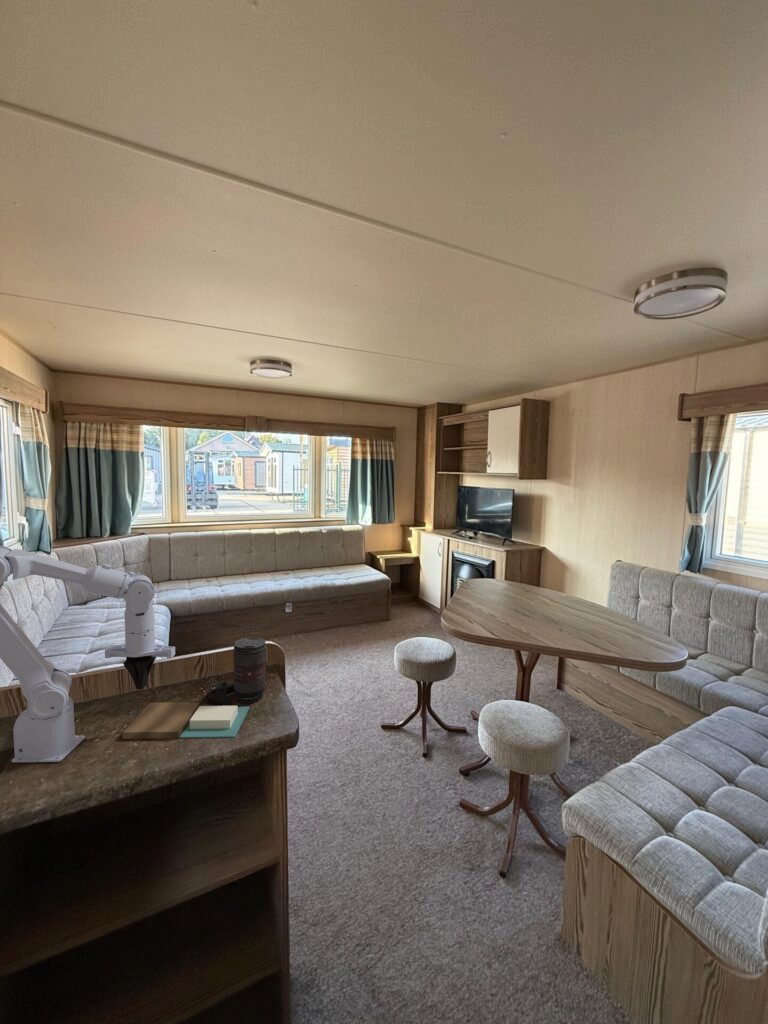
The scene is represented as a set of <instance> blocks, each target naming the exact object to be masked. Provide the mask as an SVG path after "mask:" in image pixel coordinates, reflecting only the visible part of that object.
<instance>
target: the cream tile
mask: <svg viewBox="0 0 768 1024" xmlns="http://www.w3.org/2000/svg"><path fill="white" fill-rule="evenodd" d="M238 707H239V706H238V705H229V706H220V705H200V706H199V708H198V709H197V711H196V712H195V713H194V715H193V716H192V718H191V719H190V729H223V728H230V727H231V726H232V724H233V722H234V720H235V718H236V716H237V714H238Z"/></svg>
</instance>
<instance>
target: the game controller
mask: <svg viewBox="0 0 768 1024" xmlns="http://www.w3.org/2000/svg"><path fill="white" fill-rule="evenodd" d="M233 691H234V681H220V682H216V683H215V684H213V686H212V688H211V689H210V690H209V691H208V692H207V693H206V699H207V701H206V703H207V704H210V705H211V704H215V705H217V706H231V700H230V697H229V696H228V692H233ZM234 692H235V691H234Z"/></svg>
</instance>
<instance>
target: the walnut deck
mask: <svg viewBox="0 0 768 1024" xmlns="http://www.w3.org/2000/svg"><path fill="white" fill-rule="evenodd" d="M200 703H201V702H200V701H199V702H196V701H195V702H193V701H192V702H187V701H185V702H182V701H181V702H149V703H148V704H147V705H146V706H145V708H144V709H143V710H142V711H141V712H140V713H139V714H138V715H137V716H136V717H135V718H134V719H133V720H132V721H131V722H130V724H129V725H128V726H127V727H126V728H124V730H123V731H122V733H121V734H122V739H123V740H134V739H136V740H137V739H138V740H142V739H143V740H144V739H147V740H148V739H156V740H157V739H180V736H181V734H182V733H183V731H184V730H185V729H186V727H187V726H188V724H189V723H190V719H191V718H192V716H193V715H194V713H195V712H196V711H197V709H198V708H199V706H201V704H200Z"/></svg>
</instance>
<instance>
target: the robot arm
mask: <svg viewBox="0 0 768 1024" xmlns="http://www.w3.org/2000/svg"><path fill="white" fill-rule="evenodd" d="M111 567H112V566H111V565H110V564H107V563H104V564H103V566H102V565H99V564H96V565H94V566H92V567H88V568H85V567H82V566H80V565H75V564H72V563H69V562H65V561H62V560H59V559H56V558H51V557H49V556H46V555H45V556H44V555H41V554H39V553H35V552H31V551H27V550H24V549H19V548H14V549H11V548H10V547H7V546H4V545H0V592H1V591H2V588H3V586H4V583H5V581H7V579H9V577H10V576H11V575H12V580H19V579H22V578H27V577H30V576H40V577H46V578H49V579H56V580H60V581H63V582H64V581H66V582H71V583H75V584H80V585H81V586H82V588H83V589H84V591H85V592H87V593H90V594H91V593H92V594H95V595H100V596H104V597H110V598H113V599H117V600H118V599H119V600H120V599H123V600H124V601H125V610H124V614H123V615H124V641H125V644H124V645H116V646H108V647H107V648H105V650H104V658H105V659H111V658H125V660H124V661H123V667H124V668H125V669H126V670H127V672H128V673H129V674H130V677H131V679H132V681H133V683H134V686H135V687H134V688H135V689H136V690H144V688H146V687H147V685H148V681H149V680H148V679H149V676H150V673H151V669H152V667H153V665H154V662H155V661H156V659H157V658H167V659H172V658H173V657H174V656H175V655H176V646H169V645H163V644H159V643H158V644H157V643H156V642H155V640H156V639H155V638H156V637H155V608H154V606H153V605H154V597H155V594H156V591H155V588H154V584H153V582H152V580H151V578H149V577H148V576H146V575H144V574H142V573H135V572H134V571H129V573H128V572H125V571H121V570H119V569H118V570H117V569H114V568H111ZM0 660H1V661H2V662H3V664H5V666H6V667H7V669H9V671H11V673H12V674H13V676H14V677H16V679H17V680H18V682H19V685H20V689H21V694H22V696H24V698H25V699H26V701H27V708H26V709H25V710H23V711H22V712H21V713H20V714H19V715H18V717H17V718H16V720H15V722H14V725H13V731H12V732H13V733H12V734H13V748H14V757H13V758H12V759H11V763H57V762H58V763H59V762H61V761H63V760H64V759H65V758H66V756H68V755H69V754H70V753H71V752H72V751H73V750H74V749H75V748H76V747H77V746H79V744H80V743H81V742H83V740H85V738H86V735H76V732H75V730H76V729H75V711H74V709H75V708H74V707H75V705H74V700H73V699H72V698H71V697H70V696H69V693H70V688H71V687H72V677H71V675H70V673H69V672H67V670H66V671H65V670H63V669H60V668H58V667H57V665H56V664H55V663H54V662H52V661H49V660H47V659H46V658H45V657H44V656H43V655H42V653H41V652H40V651H39V650H38V648H37V647H36V645H34V643H33V642H32V641H31V640H30V638H29V637H28V635H26V633H25V632H24V631H23V630H22V628H21V627H20V626H19V625H18V624H17V622H16V621H15V620H14V619H13V617H12V616H11V615H10V614H9V613H8V611H7V610H6V608H5V607H4V606H3V604H2V603H0Z"/></svg>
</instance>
